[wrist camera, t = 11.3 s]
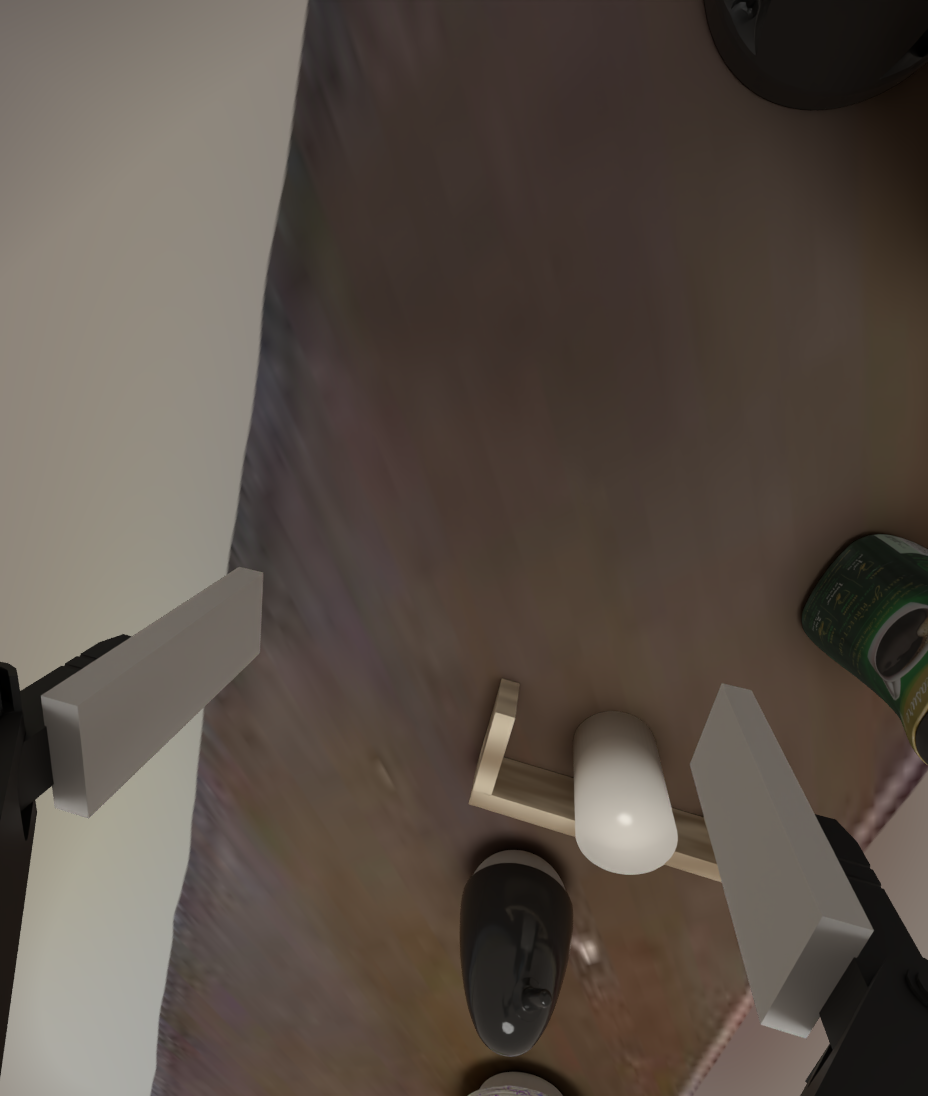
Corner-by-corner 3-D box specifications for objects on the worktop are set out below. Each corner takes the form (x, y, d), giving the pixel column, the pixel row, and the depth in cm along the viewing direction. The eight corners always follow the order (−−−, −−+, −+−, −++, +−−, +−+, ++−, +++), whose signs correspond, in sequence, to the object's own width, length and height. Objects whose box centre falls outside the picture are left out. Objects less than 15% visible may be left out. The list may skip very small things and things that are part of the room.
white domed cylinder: (586, 701, 48) (592, 782, 39) (667, 725, 48) (692, 813, 38) (563, 765, 51) (563, 856, 41) (640, 788, 50) (657, 886, 41)
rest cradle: (501, 678, 49) (495, 712, 44) (756, 752, 47) (778, 795, 42) (477, 763, 52) (468, 803, 48) (714, 835, 50) (729, 884, 46)
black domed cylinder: (595, 870, 54) (607, 1053, 40) (531, 927, 58) (521, 1114, 43) (508, 812, 53) (487, 976, 39) (449, 873, 57) (411, 1044, 43)
